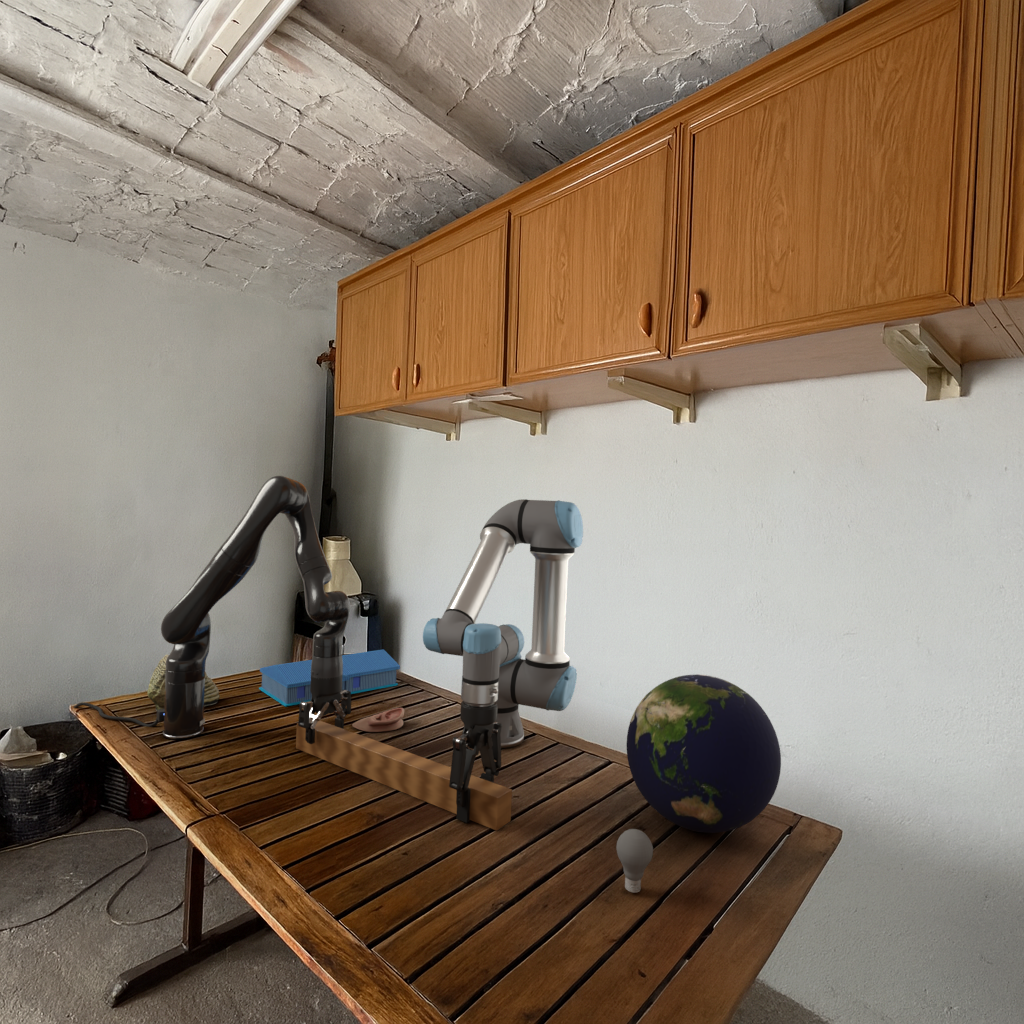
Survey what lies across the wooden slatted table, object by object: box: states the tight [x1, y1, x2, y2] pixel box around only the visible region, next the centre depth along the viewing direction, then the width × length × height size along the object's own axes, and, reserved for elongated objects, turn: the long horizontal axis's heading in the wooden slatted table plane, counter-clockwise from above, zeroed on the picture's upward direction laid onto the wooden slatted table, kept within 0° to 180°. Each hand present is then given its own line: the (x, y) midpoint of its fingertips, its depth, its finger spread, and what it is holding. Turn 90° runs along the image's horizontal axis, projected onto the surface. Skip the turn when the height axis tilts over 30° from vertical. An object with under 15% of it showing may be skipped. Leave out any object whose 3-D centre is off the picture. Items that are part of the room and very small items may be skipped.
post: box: [295, 720, 513, 831], centre depth 143 cm, size 62×5×6 cm, turn 56°
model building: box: [258, 649, 401, 707], centre depth 208 cm, size 39×24×10 cm, turn 132°
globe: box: [626, 673, 782, 834], centre depth 129 cm, size 30×30×30 cm
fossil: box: [147, 654, 221, 711], centre depth 185 cm, size 9×18×15 cm, turn 132°
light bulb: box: [615, 828, 654, 894], centre depth 106 cm, size 6×6×10 cm
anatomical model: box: [351, 707, 405, 733], centre depth 176 cm, size 13×4×12 cm
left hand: (324, 738), depth 156 cm, fingers open, 8 cm apart
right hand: (474, 812), depth 129 cm, fingers open, 7 cm apart
